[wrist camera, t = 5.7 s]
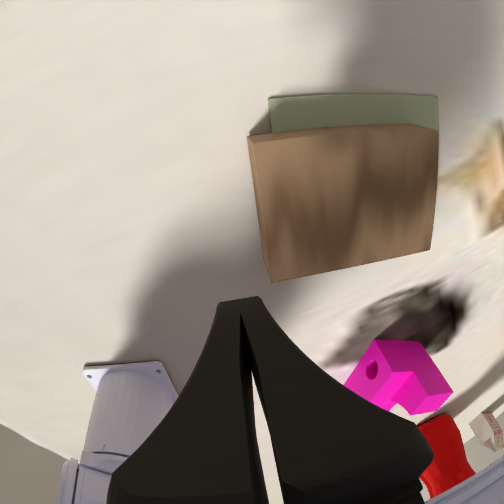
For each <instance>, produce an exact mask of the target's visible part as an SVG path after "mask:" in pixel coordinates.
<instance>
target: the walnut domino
mask: <svg viewBox="0 0 504 504" xmlns="http://www.w3.org/2000/svg"><path fill="white" fill-rule="evenodd" d="M247 141H248V148H249V155H250V163H251V170H252V177H253V184H254V191H255V198H256V206H257V213H258V220H259V228H260V235H261V242H262V250H263V257H264V261H265V264H266V267H267V270H268V273H269V277H270V280H271V283H273V282H278V281H284V280H289V279H294V278H299V277H304V276H310V275H315V274H320V273H325V272H330V271H335V270H340V269H345V268H349V267H354V266H359V265H364V264H369V263H373V262H378V261H383V260H387V259H392V258H396V257H401V256H405V255H410V254H414V253H419V252H423V251H428V250H430V246H431V239H432V231H433V222H434V213H435V203H436V191H437V175H438V144H439V130H435V129H431V128H427V127H423V126H419V125H415V124H369V125H349V126H334V127H321V128H310V129H300V130H290V131H282V132H273V133H266V134H258V135H251V136H247Z"/></svg>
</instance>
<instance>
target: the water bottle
mask: <svg viewBox="0 0 504 504" xmlns="http://www.w3.org/2000/svg"><path fill="white" fill-rule="evenodd" d="M417 427H418V428H419V430H420V431H421V432H422V434H423V435H424V436H425V438H426V439H427V441H428V442H429V444H430V446H431V448H432V450H433V452H434V458H433V461H432V462H431V464H430V465H429V466H428V468H427V469H426V470H425V471H424V472H423V473H422V474H421V475H420V477H419V478H420V479H421V480H422V481H423V482H424V484H425V485H426V486H427V489H428V492H429V494H430V499H432V498H434V497H436V496H438V495H440V494H441V493H443V492H445V491H447V490H449V489H451V488H453V487H454V486H456V485H458V484H460V483H461V482H463V481H465V480H466V479H468V478H470V477H471V476H473V475H475V474H476V473H475V472H474V470H473V469H472V468H471V467H470V465H469V463H468V462H467V459H466V454H465V450H464V446H463V442H462V438H461V434H460V431H459V429H458V427H457V426H456V424H455V422H454V420H453V418H452V417H451V416H450V415H447V414H444V415H439V416H437V417H435V418H433V419H432V420H430V421H428V422H426V423H424V424H422V425H420V426H417Z"/></svg>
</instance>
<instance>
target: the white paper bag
mask: <svg viewBox="0 0 504 504" xmlns="http://www.w3.org/2000/svg"><path fill="white" fill-rule="evenodd" d="M469 425H470V427H471V428H472V430H473V432H474V434H475V435H476V437H477V439H478V441H479V442H480V444H482V445H484V446H486V447H488V448H490V449H491V450H493V451H494V452H496V451H499V450H501V449H503V448H504V444H503V435H502V429H501V428H500V426H499V424H498V423H497V421H496V420H495V418H494V416H493V415H492V413H491V412H481V413H480V414H479V415H478V416H477V417H476V418H475V419H474V420H472V421H471V422H470V423H469Z"/></svg>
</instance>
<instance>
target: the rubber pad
mask: <svg viewBox="0 0 504 504" xmlns="http://www.w3.org/2000/svg"><path fill="white" fill-rule="evenodd" d="M268 105H269V113H270V121H271V128H272V133H273V132H282V131H290V130H300V129H310V128H321V127H334V126H349V125H369V124H415V125H419V126H423V127H427V128H431V129H435V130H439V126H438V97H437V96H424V95H407V94H327V95H309V96H296V97H284V98H274V99H268Z"/></svg>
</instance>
